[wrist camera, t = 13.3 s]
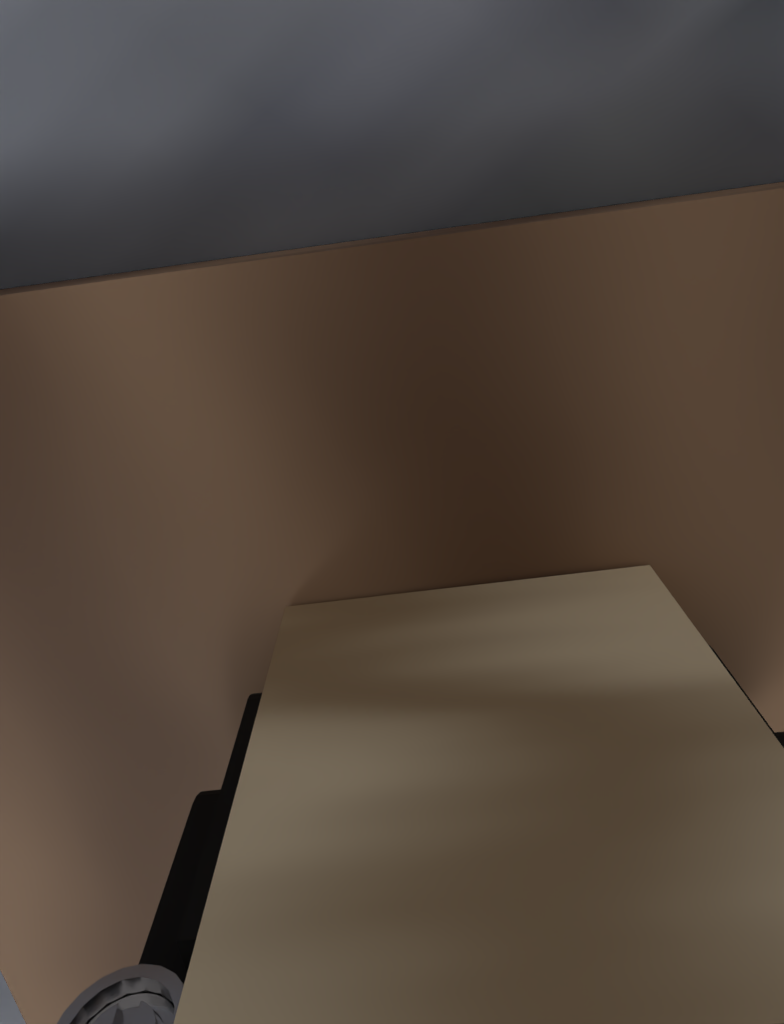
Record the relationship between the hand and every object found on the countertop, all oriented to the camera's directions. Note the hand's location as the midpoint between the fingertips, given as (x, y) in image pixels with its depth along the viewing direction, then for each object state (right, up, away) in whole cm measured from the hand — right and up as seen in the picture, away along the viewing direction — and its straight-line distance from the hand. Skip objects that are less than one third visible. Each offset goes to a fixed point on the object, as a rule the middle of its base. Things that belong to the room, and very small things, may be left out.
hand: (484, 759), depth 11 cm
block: (0, 0, 0) cm, 0 cm away
